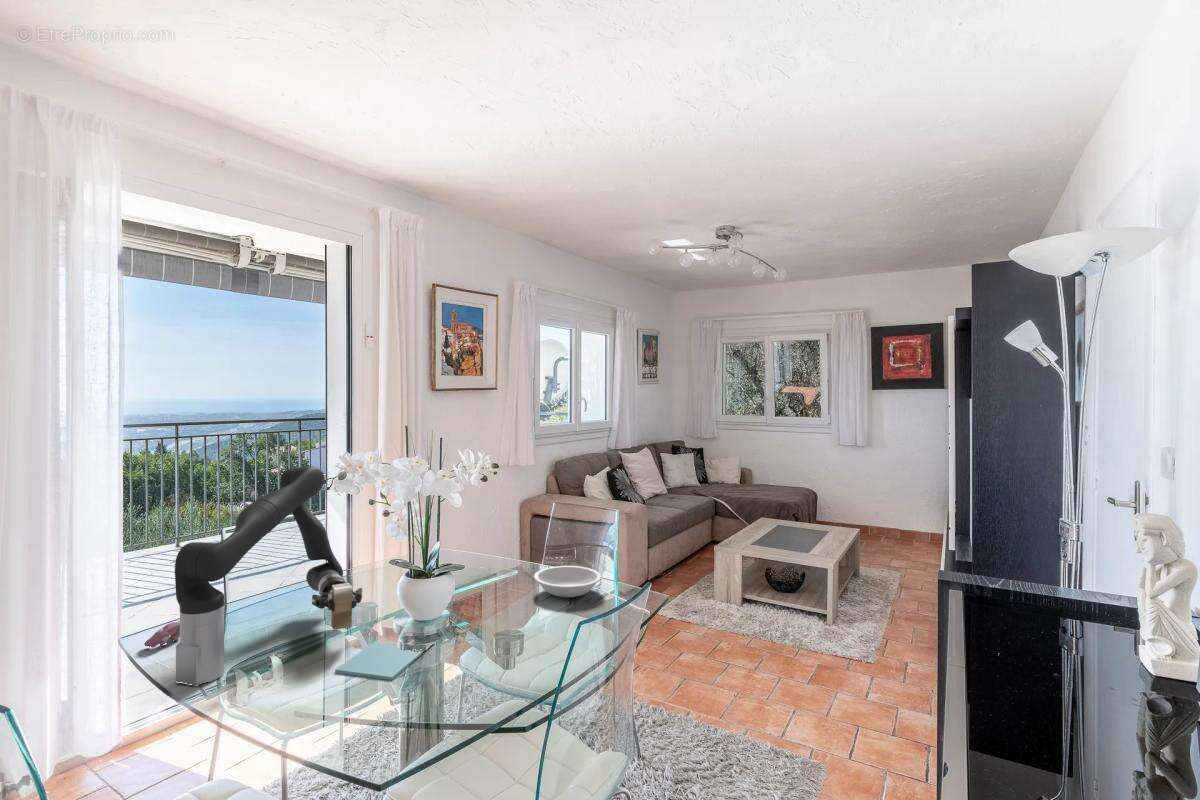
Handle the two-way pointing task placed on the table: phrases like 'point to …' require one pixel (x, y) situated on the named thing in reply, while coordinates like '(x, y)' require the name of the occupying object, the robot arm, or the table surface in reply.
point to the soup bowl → (567, 580)
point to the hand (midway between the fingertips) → (343, 606)
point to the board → (379, 661)
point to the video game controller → (165, 635)
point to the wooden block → (342, 606)
